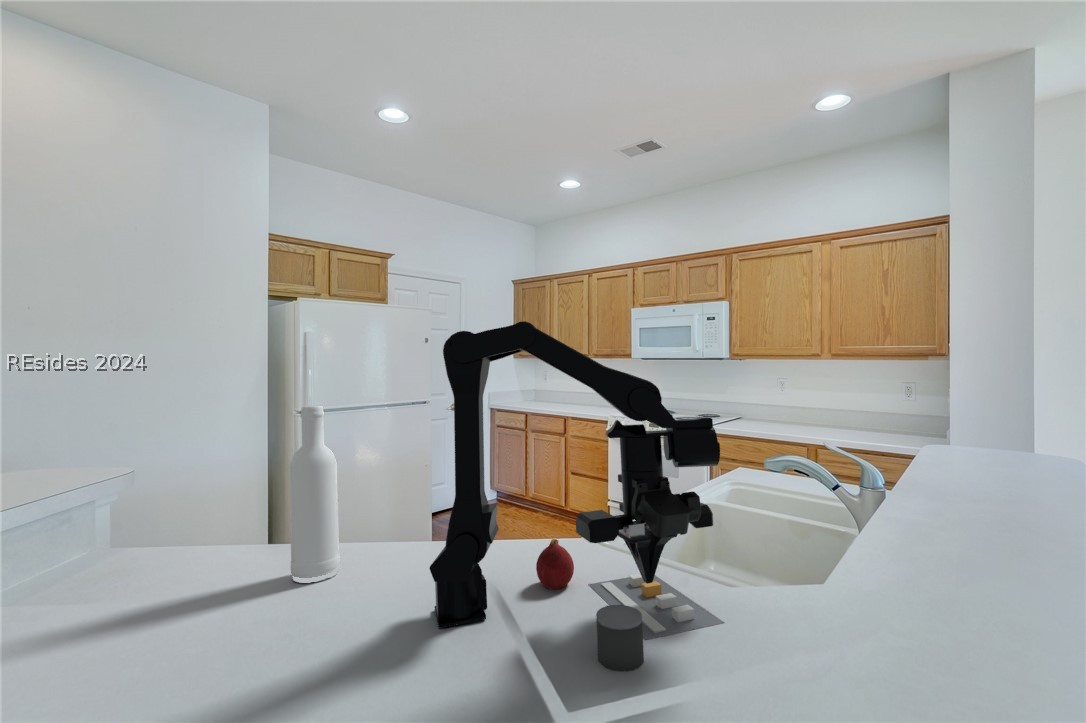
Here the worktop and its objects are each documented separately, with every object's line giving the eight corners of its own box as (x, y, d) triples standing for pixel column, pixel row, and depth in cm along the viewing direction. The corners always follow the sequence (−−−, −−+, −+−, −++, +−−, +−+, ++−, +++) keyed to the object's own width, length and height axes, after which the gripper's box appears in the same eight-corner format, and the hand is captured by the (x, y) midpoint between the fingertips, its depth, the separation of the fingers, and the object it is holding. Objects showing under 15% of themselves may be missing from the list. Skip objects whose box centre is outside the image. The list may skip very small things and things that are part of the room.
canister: (609, 687, 52) (606, 629, 52) (591, 661, 56) (589, 608, 57) (652, 678, 53) (650, 621, 53) (632, 653, 58) (629, 602, 58)
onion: (572, 601, 73) (569, 545, 73) (533, 599, 74) (531, 544, 74) (577, 585, 78) (574, 534, 79) (541, 584, 80) (539, 533, 80)
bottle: (307, 587, 83) (304, 407, 84) (281, 579, 87) (278, 408, 88) (349, 571, 89) (345, 404, 91) (322, 565, 94) (319, 405, 95)
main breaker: (646, 597, 70) (646, 587, 70) (642, 593, 71) (641, 583, 71) (661, 594, 71) (661, 584, 71) (656, 590, 72) (656, 581, 72)
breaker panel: (646, 650, 58) (645, 629, 59) (588, 592, 76) (587, 576, 76) (725, 632, 62) (724, 612, 62) (652, 580, 79) (651, 565, 79)
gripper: (604, 485, 59) (611, 619, 58) (735, 470, 65) (743, 593, 64) (571, 471, 70) (577, 585, 69) (687, 460, 75) (693, 565, 75)
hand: (648, 582), depth 69 cm, fingers closed
